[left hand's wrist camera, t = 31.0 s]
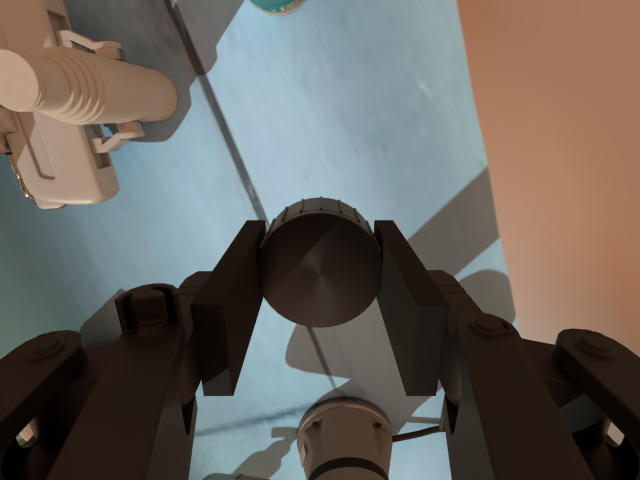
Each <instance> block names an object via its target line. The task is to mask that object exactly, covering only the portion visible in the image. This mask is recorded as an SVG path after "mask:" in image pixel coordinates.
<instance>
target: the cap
mask: <svg viewBox="0 0 640 480" xmlns="http://www.w3.org/2000/svg"><path fill="white" fill-rule="evenodd" d="M259 251H260V252H259V255H258V259H257V273H258V285H259V288H260V290H261V292H262V294H263V296H264V298H265V299H266V301H267V302H268V304H269V305H270V306H271V307H272V308H273V309H274V310H275V311H276V312H277V313H278V314H280V315H281V316H283V317H284V318H286V319H288V320H290V321H292V322H294V323H297V324H300V325H304V326H309V327H331V326H336V325H339V324H343V323H345V322H348V321H350V320H352V319H354V318H355V317H357V316H358V315H360V314H361V313H362V312H364V311H365V310H366V309H367V308H368V307H369V306H370V304H371V303H372V302H373V301H374V299H375V297H376V296H377V294H378V292H379V289H380V287H381V283H382V269H383V261H382V256H381V250H380V247H379V245H378V243H377V241H376V238H375V236H374V234H373V232H372V230H371V227H370V225H369V223H368V221H365V219H364V218H363V217H362V216H361V215H360V213H359V212H357V210H356V208H352V207H351V206H349V205H347V204H345V203H343V202H341V201H340V200H339V199H338V200H334V199H329V198H322V197H320V198H310V199H305V200H304V199H302V200H301V201H299V202H296V203H294V204H293V205H291V206H289V207H285V210H283V211H282V212H281V213H280V214H279V215H278V216H277V218H276V219H273V221H272V223H271V225H270V228H269V230H268V232H267V234H266V235H265V237H264V239H263V241H262V243H261V246H260V248H259Z"/></svg>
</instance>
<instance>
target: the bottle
mask: <svg viewBox="0 0 640 480" xmlns="http://www.w3.org/2000/svg"><path fill="white" fill-rule="evenodd" d="M177 103H178V96H177V91H176V89H175V86H174V85H173V83H172V81H171V80H170V79H169V78H168V77H167V76H166V75H164V74H163V73H161V72H159V71H156V70H153V69H149V68H145V67H141V66H138V65H134V64H130V63H126V62H123V61H119V60H115V59H111V58H108V57H104V56H100V55H96V54H92V53H89V52H85V51H81V50H77V49H74V48H70V47H64V46H51V47H46V48H43V49H40V50H38V51H35V52H32V53H29V54H27V53H23V52H21V51H18V50H14V49H11V48H1V49H0V104H1V105H2V106H4V107H6V108H8V109H9V110H13V111H17V112H32V111H40V112H42V113H44V114H46V115H49V116H51V117H53V118H55V119H57V120H59V121H62V122H65V123H70V124H76V125H84V124H106V123H127V122H132V121H141V122H150V121H163V120H166V119H168V118H169V117H171V116H172V115H173V113H174V112H175V110H176V107H177Z"/></svg>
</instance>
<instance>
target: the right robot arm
mask: <svg viewBox="0 0 640 480" xmlns="http://www.w3.org/2000/svg"><path fill="white" fill-rule="evenodd" d="M51 46H64V47H70V48H74V49H77V50H81V51H85V52H87V51H88V50H87V48H90V49H92V50H94V51H95V54H96V55H100V56H104V57H108V58H111V59H115V60H119V61H123V62H125V57H124V53H123V49H122V45H121V43H118V42H115V41H100V42H97V41H95V40H93V39H91V38H89V37H87V36H85V35H82V34H79V33H76V32H73V31H72V28H71V25H70V22H69V18H68V15H67V12H66V8H65V5H64V2H63V0H0V49H1V48H11V49H14V50H18V51H21V52H23V53H27V54H29V53H32V52H35V51H38V50H40V49H43V48H46V47H51ZM116 126H117V130H118V132H117V133H116V134H115V135H113V136H112V137H104V134H103V131H102V127H101V124H84V125H76V124H70V123H65V122H62V121H59V120H57V119H55V118H53V117H51V116H49V115H46V114H44V113H42V112H40V111H32V112H17V111H13V110H9V109H8V108H6V107H4V106H2V105H1V104H0V154H2V153H5V154H7V156H8V159H9V162H10V164H11V167H12V169H13V171H14V172H15V175H16V176H17V177H18V180H19V183H20V185H19V186H20V189H21V191H22V193H23V195H24V196H25V197H29V198H30V200H31V201H32V202H33V203H34V204H35V205H37V206H38V207H39V208H41V209H57V208H63V207H65V206H67V205H68V204H72V205H87V204H98V203H102V202H105V201H107V200H110V199H112V198H113V197H114V196H115V195H116V194H117V193H118V191H119V190H120V187H119V183H118V180H117V177H116V174H115V170H114V167H113V164H112V160H111V157H110V154H109V152H111V151H116V150H118V149H119V148H121V147H122V146H123V145H124V144H125V143H126V142H127V141H128V140H129V139H130V138H135V137H143V136H145V133H144V129H143V126H142V122H141V121H132V122H127V123H116ZM139 131H140V132H139Z"/></svg>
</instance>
